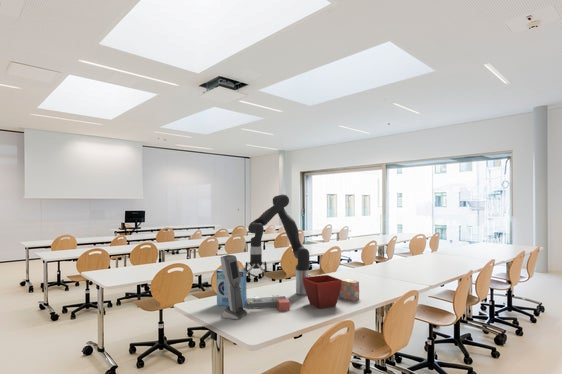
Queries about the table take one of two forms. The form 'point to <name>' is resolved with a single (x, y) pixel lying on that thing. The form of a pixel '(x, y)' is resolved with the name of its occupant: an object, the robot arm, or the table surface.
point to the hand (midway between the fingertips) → (256, 277)
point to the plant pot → (322, 290)
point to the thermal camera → (232, 288)
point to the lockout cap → (283, 304)
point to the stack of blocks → (349, 289)
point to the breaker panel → (263, 302)
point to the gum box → (222, 288)
